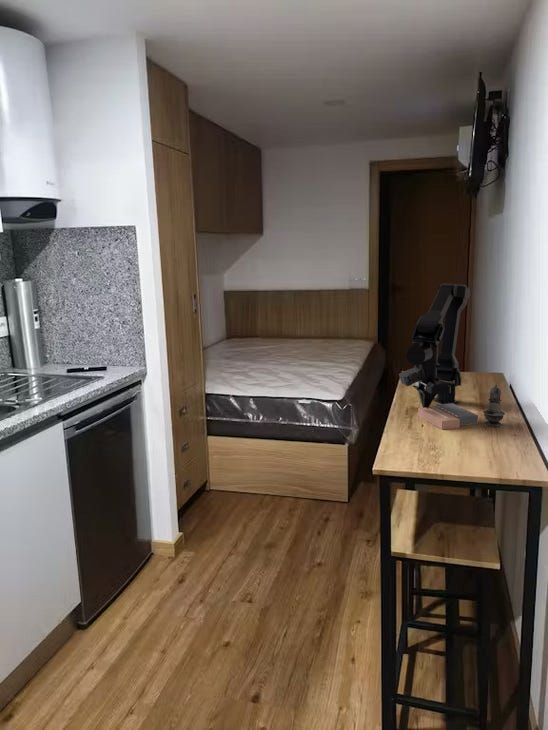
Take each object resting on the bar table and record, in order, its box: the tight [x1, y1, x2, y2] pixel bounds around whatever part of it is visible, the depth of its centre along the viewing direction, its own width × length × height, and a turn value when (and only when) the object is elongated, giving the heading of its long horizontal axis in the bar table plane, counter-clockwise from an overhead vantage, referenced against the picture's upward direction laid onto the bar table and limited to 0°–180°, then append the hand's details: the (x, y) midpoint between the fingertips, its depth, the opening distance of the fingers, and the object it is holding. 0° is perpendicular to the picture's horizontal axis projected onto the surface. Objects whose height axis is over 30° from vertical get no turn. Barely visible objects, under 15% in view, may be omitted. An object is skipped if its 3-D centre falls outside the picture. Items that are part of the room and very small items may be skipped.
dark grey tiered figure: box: [483, 384, 506, 428], centre depth 163 cm, size 6×6×12 cm
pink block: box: [417, 406, 461, 430], centre depth 166 cm, size 14×6×3 cm, turn 13°
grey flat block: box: [431, 403, 479, 426], centre depth 170 cm, size 14×7×3 cm, turn 13°
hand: (425, 409), depth 174 cm, fingers closed
